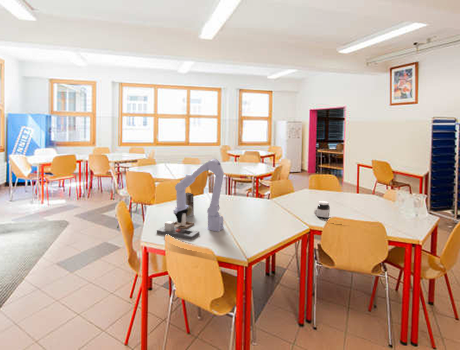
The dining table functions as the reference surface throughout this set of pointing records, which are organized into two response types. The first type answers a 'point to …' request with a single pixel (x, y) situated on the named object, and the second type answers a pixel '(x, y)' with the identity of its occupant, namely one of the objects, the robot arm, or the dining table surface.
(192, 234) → the power strip
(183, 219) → the white plug
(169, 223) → the seated plug
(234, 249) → the dining table surface
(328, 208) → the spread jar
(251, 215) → the dining table surface
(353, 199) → the dining table surface
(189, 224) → the tray
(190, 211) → the coffee box
